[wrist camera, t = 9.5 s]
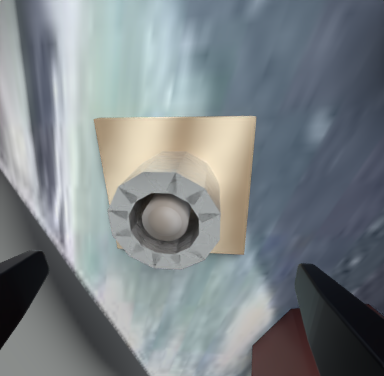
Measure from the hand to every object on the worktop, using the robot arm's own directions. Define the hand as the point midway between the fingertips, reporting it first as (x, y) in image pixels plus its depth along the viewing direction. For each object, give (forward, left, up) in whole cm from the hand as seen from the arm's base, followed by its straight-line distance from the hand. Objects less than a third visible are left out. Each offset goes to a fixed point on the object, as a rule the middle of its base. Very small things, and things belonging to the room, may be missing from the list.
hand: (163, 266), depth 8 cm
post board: (+1, +2, -12) cm, 12 cm away
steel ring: (+1, +2, -11) cm, 11 cm away
